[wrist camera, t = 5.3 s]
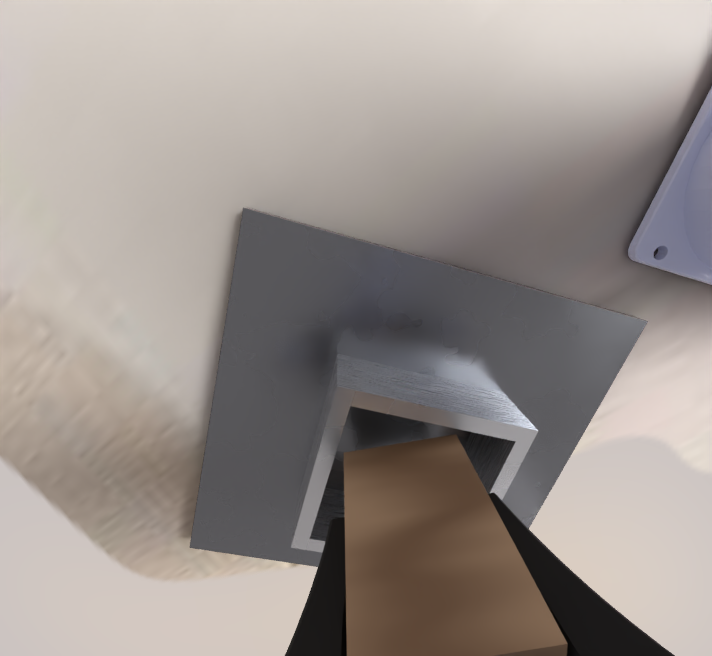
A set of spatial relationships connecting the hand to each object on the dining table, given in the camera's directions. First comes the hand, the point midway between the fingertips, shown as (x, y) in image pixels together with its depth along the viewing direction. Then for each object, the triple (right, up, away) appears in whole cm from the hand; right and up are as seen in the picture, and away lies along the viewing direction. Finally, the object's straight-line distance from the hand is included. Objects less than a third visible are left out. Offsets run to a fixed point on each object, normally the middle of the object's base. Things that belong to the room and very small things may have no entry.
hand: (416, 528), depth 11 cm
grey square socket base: (0, +1, +4) cm, 5 cm away
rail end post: (0, +1, +1) cm, 2 cm away
